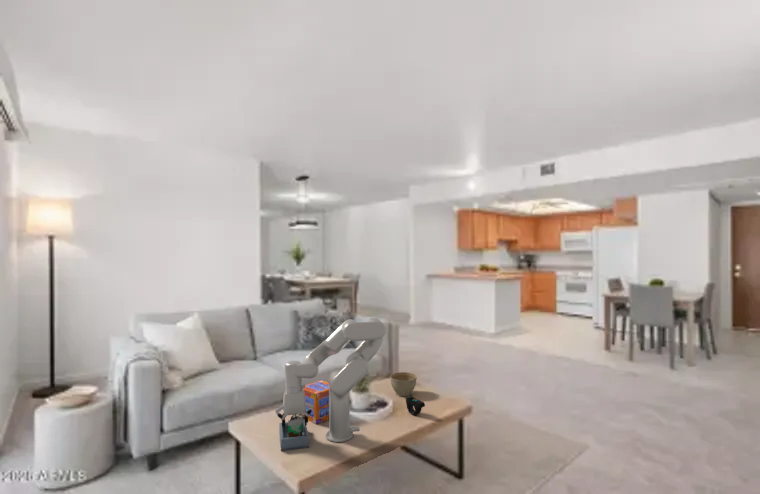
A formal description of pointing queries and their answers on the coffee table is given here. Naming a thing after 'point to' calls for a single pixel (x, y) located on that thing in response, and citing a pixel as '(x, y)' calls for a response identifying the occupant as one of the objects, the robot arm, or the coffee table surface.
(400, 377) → the planter bowl
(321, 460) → the coffee table surface
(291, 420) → the latticed semicircular wedge
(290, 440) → the bin
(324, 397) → the game box
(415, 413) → the controller
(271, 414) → the coffee table surface
